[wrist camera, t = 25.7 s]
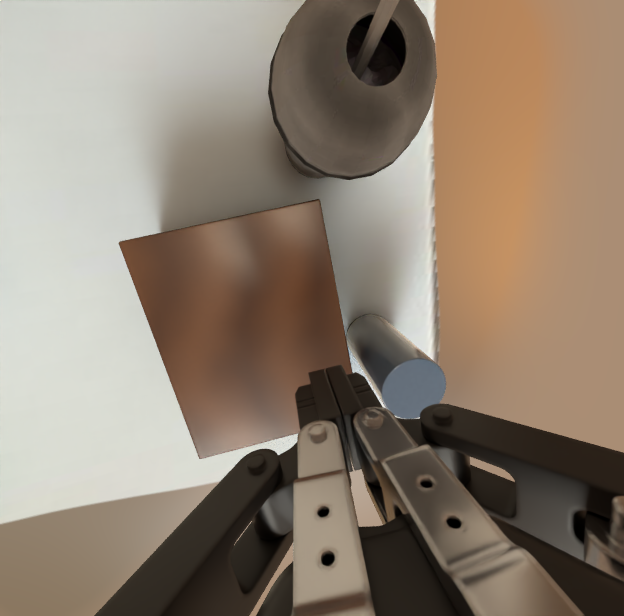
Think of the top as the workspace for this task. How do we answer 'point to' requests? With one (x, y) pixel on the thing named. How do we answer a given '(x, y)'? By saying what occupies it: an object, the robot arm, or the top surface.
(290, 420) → the lid
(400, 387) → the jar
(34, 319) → the top surface
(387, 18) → the beverage cup
